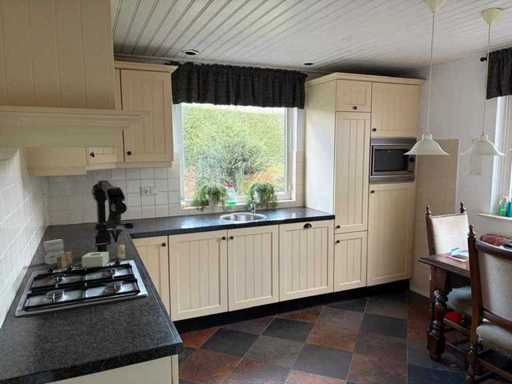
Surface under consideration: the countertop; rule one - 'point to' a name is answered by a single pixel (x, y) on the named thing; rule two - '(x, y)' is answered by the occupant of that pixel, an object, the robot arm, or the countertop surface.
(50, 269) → the countertop surface
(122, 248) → the dowel
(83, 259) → the socket block
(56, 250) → the ink box
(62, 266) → the wall board
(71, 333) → the countertop surface
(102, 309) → the countertop surface
